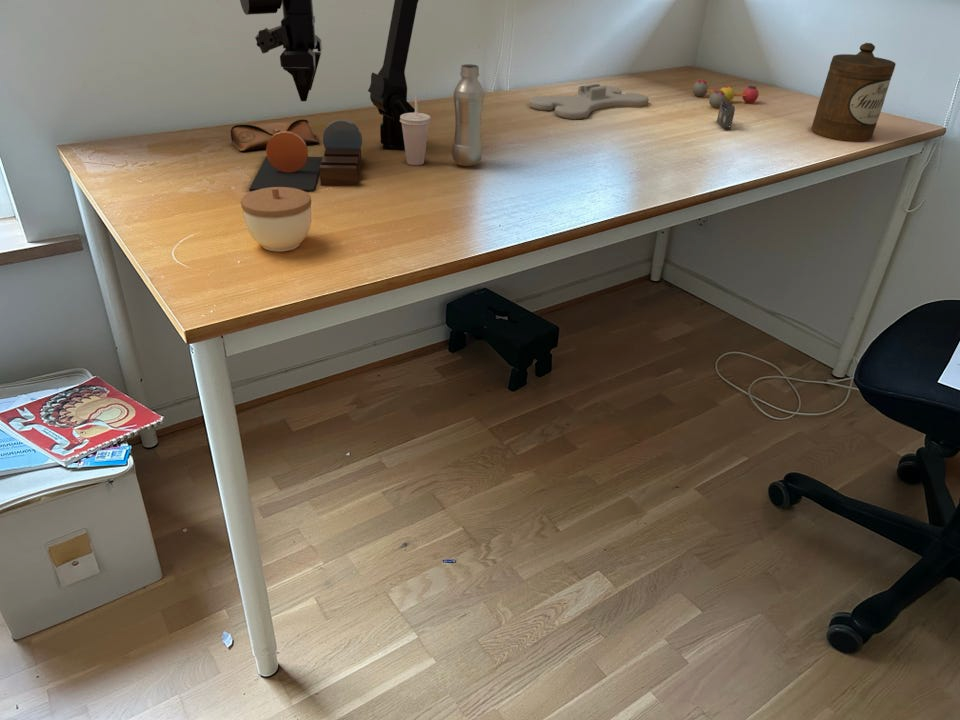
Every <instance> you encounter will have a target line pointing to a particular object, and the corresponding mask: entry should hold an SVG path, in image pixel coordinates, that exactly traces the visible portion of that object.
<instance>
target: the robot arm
mask: <svg viewBox="0 0 960 720" xmlns="http://www.w3.org/2000/svg"><path fill="white" fill-rule="evenodd" d="M419 1H420V0H394V3H393V8H392V14H391V19H390V24H389V30H388V35H387V41H386V47H385V53H384V58H383V64H382V67H381V68H380V70H379V71H378V73H375V72H371V74H370V85H369V87H368V89H367V92H369V99H370V101H371V103H372V105H373V106H374V107H376V109H377V111H378V113H379V115H381V116H382V122H380V125H379V129H380V130H379V131H380V134H379V135H380V144H381V145H382V149H384V150H386V149H387V150H405V145H404V137H403V130H402V123H401V122H400V116H401V115H402V114H405V113H415V107H413V106H412V105H411V103H409V102H408V85H407V79H406V73H405V72H406V68H407V67H406V66H407V61H408V56H409V51H410V46H411V41H412V35H413V30H414V25H415V19H416V14H417V9H418V3H419ZM239 3H240V6H241V9H242V12H243V13H244V14H245V15H246V16H249V15H271V14H277V12H278V10H281V7H282V16H283V18H282V19H281V20H280V25H277V26H275V27H272V28H270V29H269V28H268V27H265V28H264V29H260V30H259V31H258V33H257V35H256V36H255V37H254V39H255V41H256V46H257V47H259V49H260V51H261V54H266V53H269V52H270V51H271V50H273V49H277V48H279V47H281V46H282V48H283V49H284V50H283V51H282V52H281V54H280V55H279V61H280V67H281V68H282V69H283V70H284V71H285V72H287V73H288V74H289V75H291V77H292V79H293V82H294V85H295V88H296V91H297V94H298V97H299V99H300V102H307V100H308V97H309V93H310V91H312V88H313V84H314V81H315V77H316V74H317V70H318V67H319V63H320V58H321V56H322V50H323V46H322V39H321V38H320V37H319V36H318V35H317V34H316V29H315V24H316V15H314V5H313V0H239ZM315 50H317V51H315Z"/></svg>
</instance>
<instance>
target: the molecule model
mask: <svg viewBox="0 0 960 720" xmlns="http://www.w3.org/2000/svg"><path fill="white" fill-rule="evenodd" d="M708 92H710V93H711V94H710V96H709V98H708V102H709V105H710V106H711V108H714V109H719V108H720V103H721V99H726V100H727V101H729V102H730V103H731V101H732V100H733V99H734V97H742V100H743V101H744V102H745V103H747V104H752V103H755V102H756V101H757V100H758V98H759V94H760V93H759V90H758V88H757V86H756V85H748V86H747V87H746V88H745V89H744V90H743V92H735V90H734V88H733V86H732V85H730V84H729V85H728V84H727V85H726V84H724V85H723V87H722V88H720V89H716V90H715V89H714V90H712V89H709V85H708V81H706V80H705V79H696V82H695V83H694V84H693V86H692V93H693V95H694V96H696V97H699V98H700V97H701V98H702V97H704V96H705V95H706V94H707V93H708Z"/></svg>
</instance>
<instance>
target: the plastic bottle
mask: <svg viewBox="0 0 960 720" xmlns="http://www.w3.org/2000/svg"><path fill="white" fill-rule="evenodd" d="M479 72H480V69H479V65H477V64H472V63H469V64H467V63H466V64H461V65H460V72H459V76H460V80H459V81H458V82H457V84H456V86H455V87H454V90H453V92H452V94H453V97H452V98H453V104H454V105H453V106H454V116H455V119H454V120H455V129H454V139H453V144H452V149H451V154H452V155H451V156H452V160H453V161H454V163H455V164H456V165H459V166H463V167H473V166H476V165H479V163H480V162H481V161H482V157H483V143H482V134H481V125H482V124H481V123H482V122H481V121H482V112H483V107H484V100H485V89H484V88H483V86H482V84H481V82H480V80H479V79H478V78H479V76H480V73H479Z"/></svg>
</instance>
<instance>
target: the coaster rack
mask: <svg viewBox="0 0 960 720" xmlns="http://www.w3.org/2000/svg"><path fill="white" fill-rule="evenodd" d="M322 157H323V158H322V161H321V165H320V168H319V169H320V172H319V180H320V186H348V187H349V186H350V187H351V186H353V187H354V186H355V187H356V186H358V182H359V176H360V171H361V165H362V160H363V159H362V148H361V149H348V148H326V149H325V148H324V152H323V156H322Z"/></svg>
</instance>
